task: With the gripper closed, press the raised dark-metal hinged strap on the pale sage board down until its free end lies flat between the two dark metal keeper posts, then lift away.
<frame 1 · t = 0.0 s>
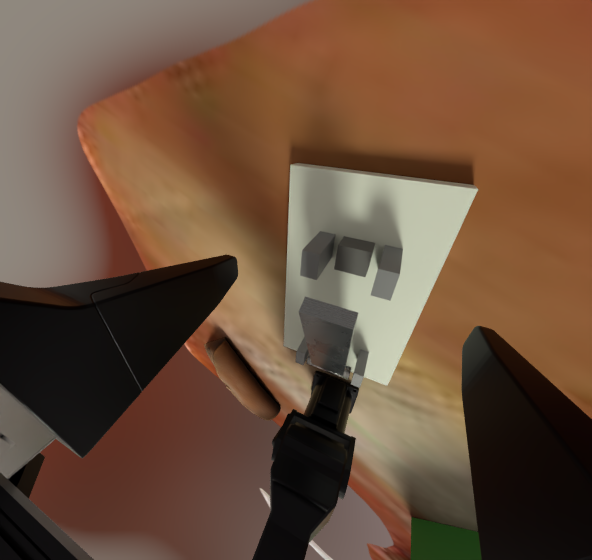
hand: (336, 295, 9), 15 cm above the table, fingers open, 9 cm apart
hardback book: (471, 539, 42), on the table
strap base: (350, 287, 26), on the table
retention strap: (328, 347, 21), point 7 cm above the table, hinge at 25.0°
sunglasses case: (244, 372, 46), on the table
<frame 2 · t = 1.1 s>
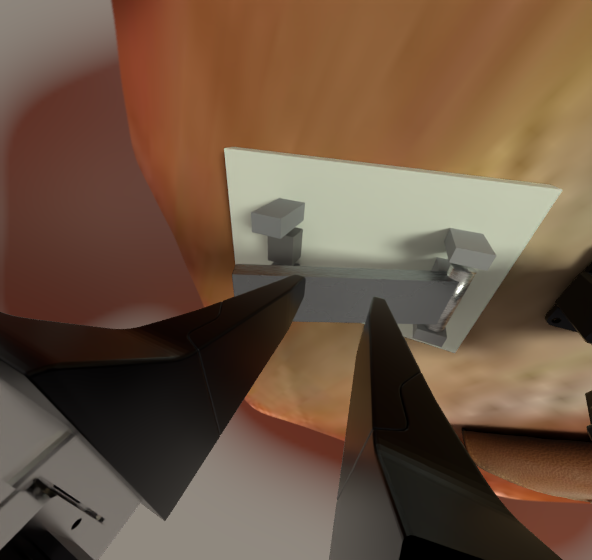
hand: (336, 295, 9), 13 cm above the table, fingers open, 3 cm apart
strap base: (346, 246, 22), on the table
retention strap: (349, 296, 16), point 7 cm above the table, hinge at 25.0°
sunglasses case: (576, 452, 24), on the table
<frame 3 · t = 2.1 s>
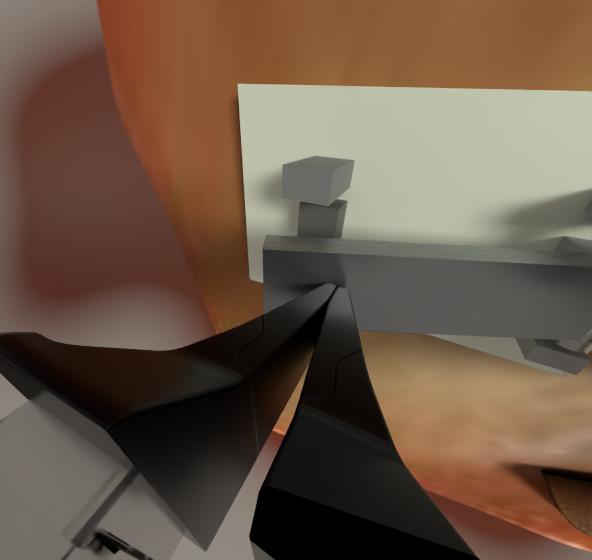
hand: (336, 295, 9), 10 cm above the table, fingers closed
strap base: (405, 226, 16), on the table
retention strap: (446, 292, 10), point 7 cm above the table, hinge at 23.3°, touching gripper
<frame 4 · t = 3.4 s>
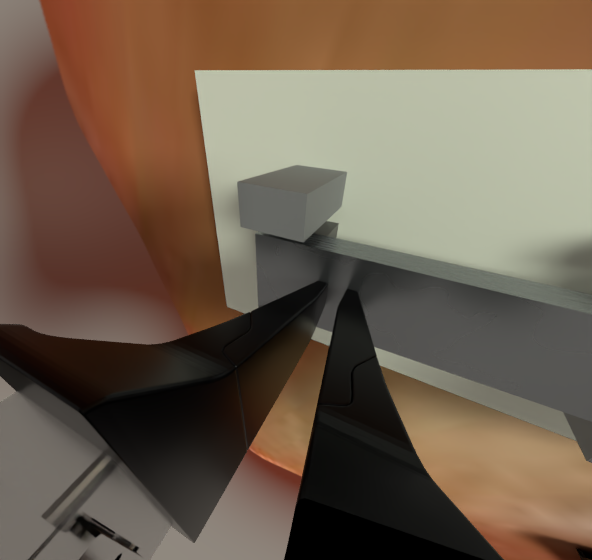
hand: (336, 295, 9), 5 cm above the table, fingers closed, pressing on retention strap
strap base: (414, 255, 12), on the table
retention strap: (450, 320, 8), point 5 cm above the table, hinge at 1.4°, touching gripper
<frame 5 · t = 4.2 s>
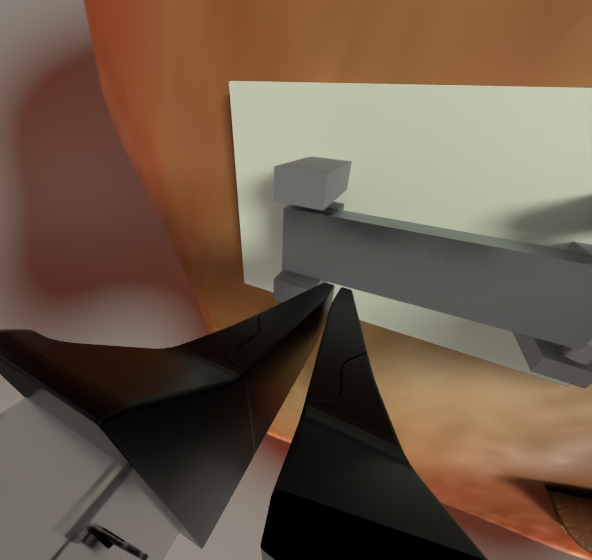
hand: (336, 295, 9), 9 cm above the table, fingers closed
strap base: (404, 230, 15), on the table
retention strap: (430, 269, 11), point 5 cm above the table, hinge at 1.3°
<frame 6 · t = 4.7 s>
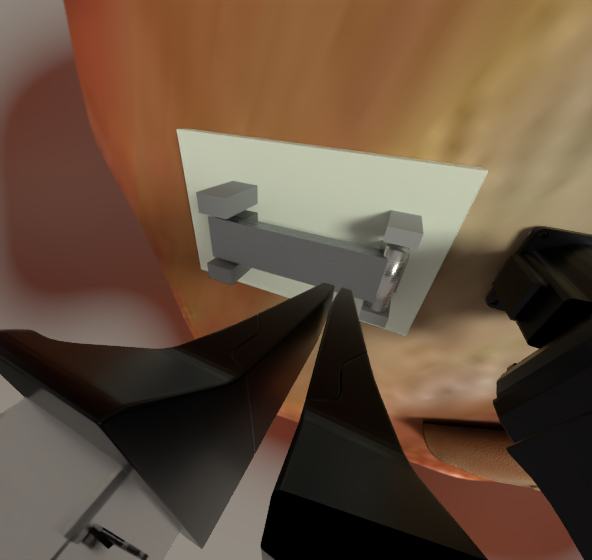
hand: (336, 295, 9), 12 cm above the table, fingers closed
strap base: (302, 231, 22), on the table
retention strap: (296, 256, 18), point 5 cm above the table, hinge at 1.3°
sunglasses case: (523, 442, 26), on the table
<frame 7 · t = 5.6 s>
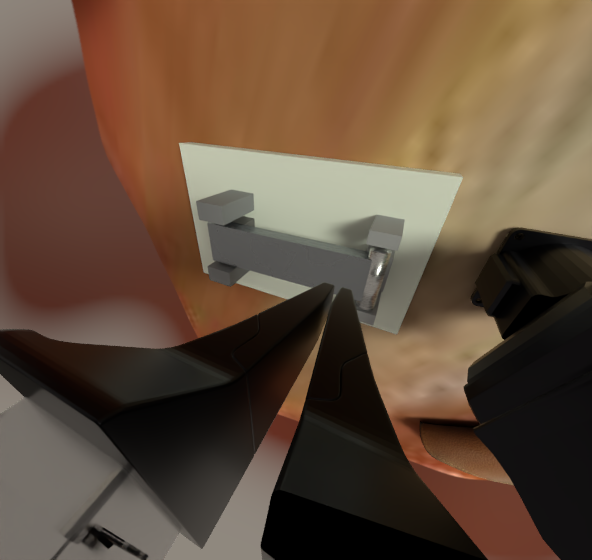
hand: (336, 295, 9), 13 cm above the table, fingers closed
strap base: (296, 235, 23), on the table
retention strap: (289, 258, 19), point 5 cm above the table, hinge at 1.3°
sunglasses case: (519, 442, 26), on the table
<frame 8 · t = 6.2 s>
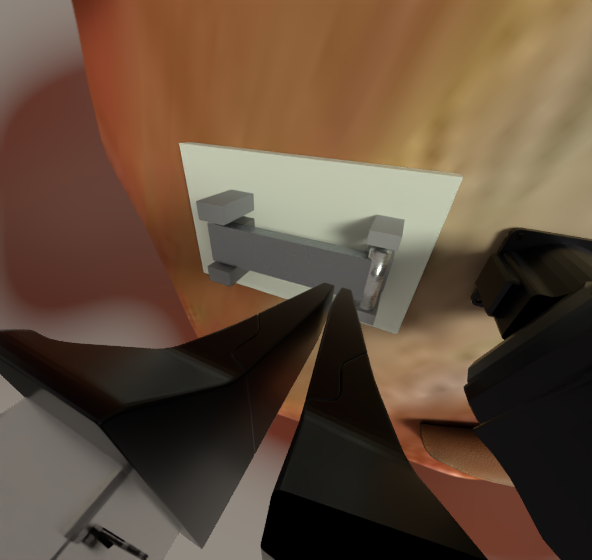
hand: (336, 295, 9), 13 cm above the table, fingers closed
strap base: (296, 235, 23), on the table
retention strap: (289, 258, 19), point 5 cm above the table, hinge at 1.3°
sunglasses case: (519, 444, 26), on the table
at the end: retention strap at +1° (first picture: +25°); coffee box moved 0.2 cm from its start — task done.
